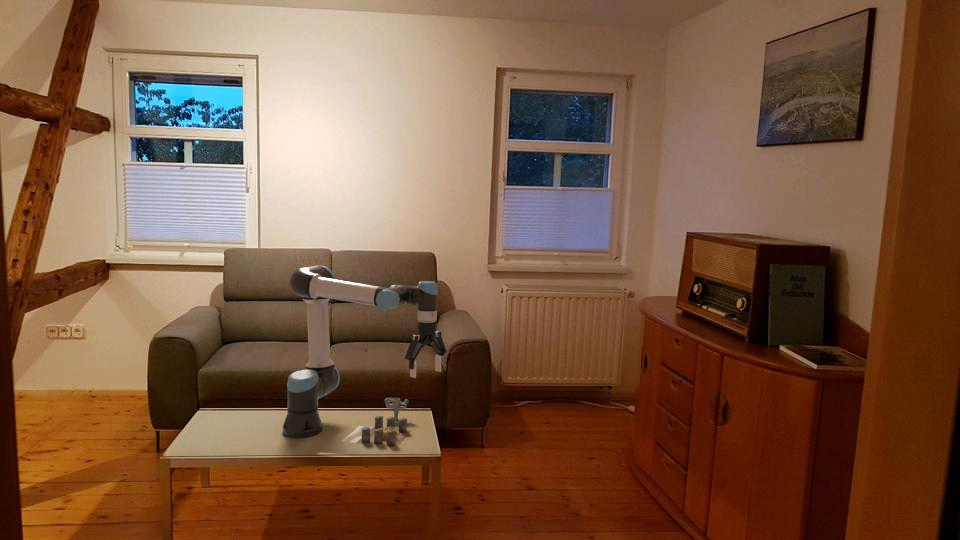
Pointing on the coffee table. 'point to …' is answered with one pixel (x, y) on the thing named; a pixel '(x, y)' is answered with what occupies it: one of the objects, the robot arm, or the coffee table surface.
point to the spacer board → (380, 433)
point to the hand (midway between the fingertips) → (425, 374)
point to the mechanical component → (395, 405)
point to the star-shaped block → (386, 431)
